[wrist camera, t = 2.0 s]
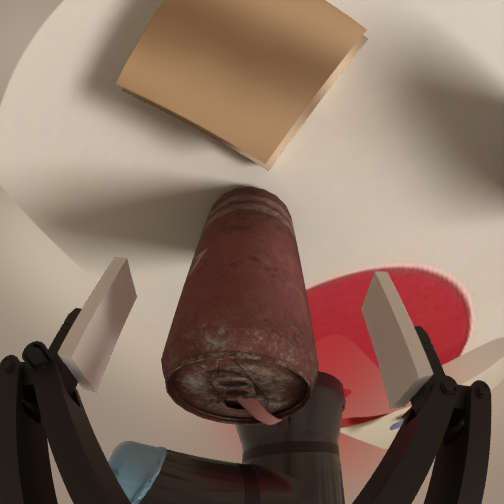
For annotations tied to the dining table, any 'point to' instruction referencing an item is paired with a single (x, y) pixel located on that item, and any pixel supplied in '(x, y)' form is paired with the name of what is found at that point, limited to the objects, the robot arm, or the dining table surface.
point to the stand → (242, 67)
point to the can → (243, 318)
